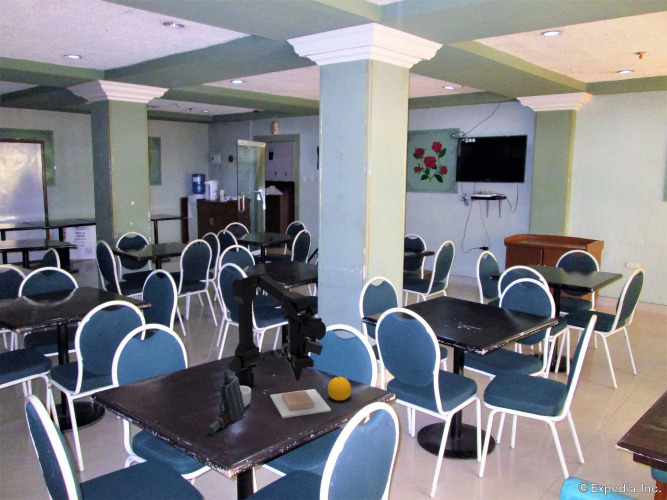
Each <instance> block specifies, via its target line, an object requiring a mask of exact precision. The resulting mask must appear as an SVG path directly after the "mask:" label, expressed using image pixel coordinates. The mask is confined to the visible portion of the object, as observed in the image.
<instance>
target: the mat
mask: <svg viewBox="0 0 667 500" xmlns="http://www.w3.org/2000/svg"><path fill="white" fill-rule="evenodd" d="M299 391H300V390H297V391H295V392H299ZM302 391H306V393H307V394H308V395H309V397H310V398H311V399H312V401H313V402H314V408H310V409H303V410H296V411H289V409H288V408H287V406H286V405H285V403H284V401H283V400H282V394H284V393H285V392H282V393H273V394H270V395H269V396H270V399H271V400H272V403H273V404H274V406H275V408H276V409H277V410H278V413H279V414H280V416H281V418H282V419H287V418H291V417H300V416H301V417H302V416H306V415H307V416H308V415H313V414H314V415H315V414H321V413H327V412H332V409H331V407H330V406H329V405H328V404H327V402H326V401H325V400H324V399H323V397H322V396H321V395H320V393H319V392H318V391H317V390H316V388H312V389H306V390H305V389H304V390H302ZM291 392H292V391H288V392H287V393H291Z"/></svg>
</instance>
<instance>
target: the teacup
mask: <svg viewBox="0 0 667 500" xmlns="http://www.w3.org/2000/svg"><path fill="white" fill-rule="evenodd" d="M240 390H241V392H242V399H243V403H244V408H246V407H247V406H248V405H249V404H250V402H251V398H252V388H251V387H250V388H249V387H247V386H240Z"/></svg>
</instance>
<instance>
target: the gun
mask: <svg viewBox="0 0 667 500" xmlns="http://www.w3.org/2000/svg"><path fill="white" fill-rule="evenodd" d="M223 376H224V378H223V382H222V383H221V384H220V386H219V394H220V398H221V402H220V403H219V407H218V408H219V409H218V410H219V412H220V414H218V416H217V417H215V418H214V421H213V422H212V423H211V424H209V425H208V426H207V430H208V431H207V432H208V433H209V435H213V436H214V435H215V434H216V432H217V431H218V430H219V429H224V428H225V426H226V424H228V423H229V422H231V423H235V424H236V423H238V421H239V420H240V419H241V418H242V417H243V416H244V415H245V414H246V413H247V412H248V410H247V409H246V407H244V403H243V399H242V392H241V390H240V385H239V381H238V377H235V376H234V375H230V376H229V371H228V370H225V371H223Z"/></svg>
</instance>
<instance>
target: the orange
mask: <svg viewBox="0 0 667 500" xmlns="http://www.w3.org/2000/svg"><path fill="white" fill-rule="evenodd" d="M327 393H328V395H329V397H330V398H331V399H333V400H334V401H345V400H348V398H349V397H350V396H351V393H352V385H351V383H350V382H349V380H348V379H347V378H346V377H344V376H336V377H333V378H332V379H331V380H330V381H329V384H328V386H327Z"/></svg>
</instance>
